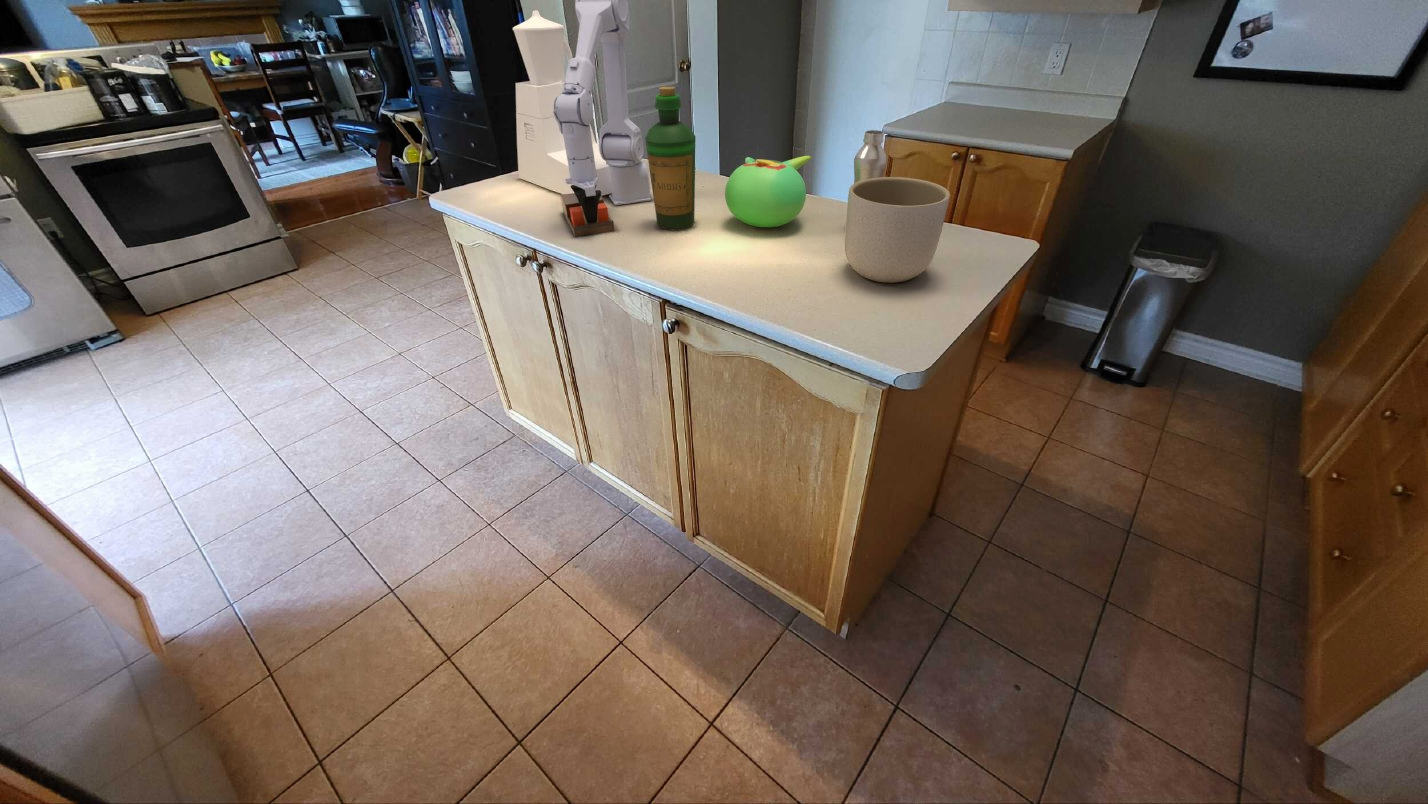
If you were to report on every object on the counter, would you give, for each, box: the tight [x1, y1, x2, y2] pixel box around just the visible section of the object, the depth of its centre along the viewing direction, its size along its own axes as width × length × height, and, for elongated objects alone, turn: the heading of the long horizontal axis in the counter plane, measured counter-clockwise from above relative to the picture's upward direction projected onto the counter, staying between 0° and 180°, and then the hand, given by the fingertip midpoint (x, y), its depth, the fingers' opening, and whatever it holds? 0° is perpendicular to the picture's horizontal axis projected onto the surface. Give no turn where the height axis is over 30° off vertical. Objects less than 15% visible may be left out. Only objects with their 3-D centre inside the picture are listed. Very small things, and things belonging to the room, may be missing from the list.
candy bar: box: [570, 202, 610, 226], centre depth 129 cm, size 8×4×3 cm, turn 110°
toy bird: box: [724, 155, 812, 228], centre depth 126 cm, size 18×17×15 cm
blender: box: [512, 9, 612, 197], centre depth 147 cm, size 33×18×40 cm, turn 44°
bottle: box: [644, 86, 696, 231], centre depth 123 cm, size 11×11×28 cm
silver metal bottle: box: [853, 129, 888, 184], centre depth 120 cm, size 6×7×20 cm
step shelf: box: [559, 193, 615, 237], centre depth 133 cm, size 9×17×4 cm, turn 20°
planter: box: [844, 176, 951, 284], centre depth 104 cm, size 17×17×15 cm
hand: (590, 219), depth 130 cm, fingers closed on candy bar, 3 cm apart
